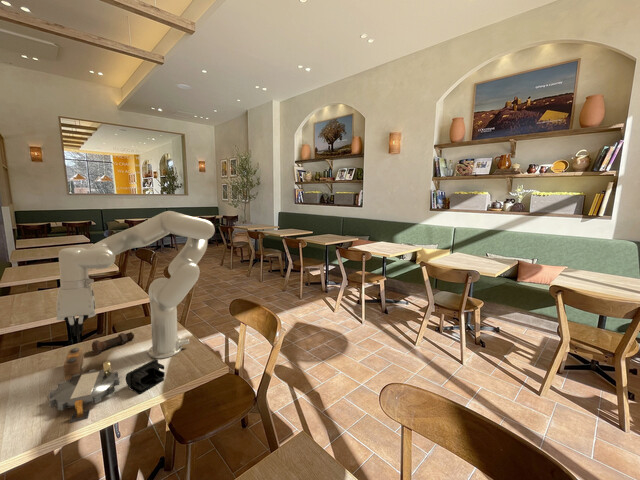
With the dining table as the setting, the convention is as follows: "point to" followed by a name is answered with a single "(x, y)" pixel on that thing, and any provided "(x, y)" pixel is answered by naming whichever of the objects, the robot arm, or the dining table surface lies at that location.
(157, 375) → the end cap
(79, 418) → the sprocket stand
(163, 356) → the robot arm
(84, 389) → the sprocket
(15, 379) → the dining table surface
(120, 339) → the bolt
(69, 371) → the tan block with disc
